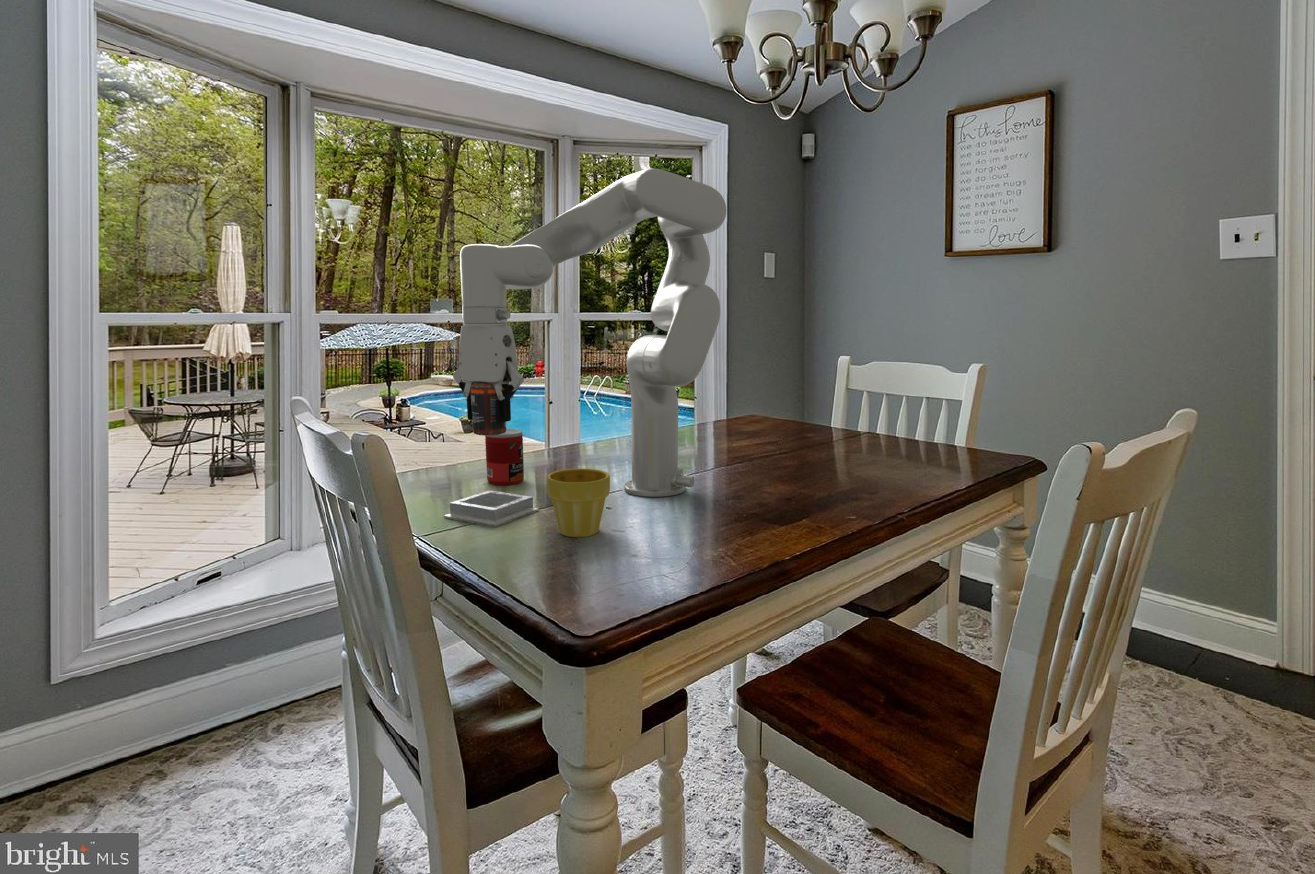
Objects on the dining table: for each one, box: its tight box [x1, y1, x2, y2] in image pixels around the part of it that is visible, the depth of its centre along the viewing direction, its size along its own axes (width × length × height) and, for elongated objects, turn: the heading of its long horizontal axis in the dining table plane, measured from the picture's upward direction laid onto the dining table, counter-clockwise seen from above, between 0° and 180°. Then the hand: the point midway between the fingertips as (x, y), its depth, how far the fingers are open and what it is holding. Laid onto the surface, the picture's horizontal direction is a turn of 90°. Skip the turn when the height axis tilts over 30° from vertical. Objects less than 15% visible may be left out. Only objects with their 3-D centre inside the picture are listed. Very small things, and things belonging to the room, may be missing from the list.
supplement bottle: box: [471, 381, 507, 437], centre depth 130 cm, size 6×6×11 cm
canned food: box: [484, 428, 525, 487], centre depth 158 cm, size 8×8×11 cm
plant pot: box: [546, 467, 611, 538], centre depth 122 cm, size 10×10×10 cm
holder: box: [443, 489, 540, 528], centre depth 133 cm, size 12×12×3 cm
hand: (489, 419), depth 131 cm, fingers closed on supplement bottle, 6 cm apart
